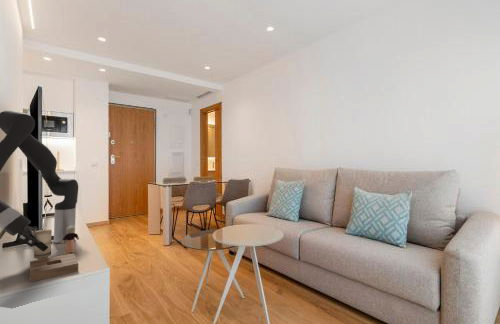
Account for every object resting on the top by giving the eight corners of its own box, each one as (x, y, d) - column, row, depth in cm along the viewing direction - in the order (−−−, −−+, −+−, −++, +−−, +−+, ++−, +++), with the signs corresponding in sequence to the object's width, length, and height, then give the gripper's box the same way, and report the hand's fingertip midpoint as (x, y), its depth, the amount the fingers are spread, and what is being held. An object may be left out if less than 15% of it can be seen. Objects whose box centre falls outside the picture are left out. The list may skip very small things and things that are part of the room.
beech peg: (33, 261, 104) (34, 230, 104) (50, 258, 108) (51, 228, 108) (33, 265, 100) (34, 233, 100) (51, 262, 104) (52, 231, 104)
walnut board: (29, 269, 97) (30, 261, 97) (73, 260, 106) (73, 253, 106) (29, 281, 86) (30, 273, 86) (78, 271, 96) (78, 263, 96)
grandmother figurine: (66, 256, 111) (67, 227, 111) (59, 255, 112) (60, 227, 112) (81, 250, 118) (81, 224, 119) (74, 250, 119) (75, 223, 119)
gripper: (13, 217, 95) (51, 244, 100) (27, 211, 107) (60, 235, 113) (-6, 233, 92) (34, 260, 97) (10, 224, 105) (45, 249, 110)
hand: (48, 247), depth 105 cm, fingers closed on beech peg, 5 cm apart
